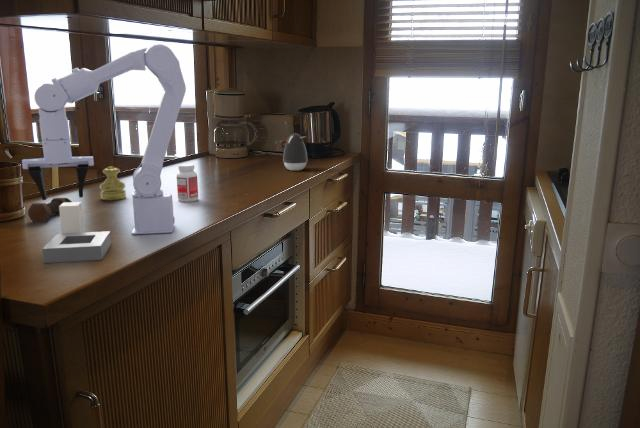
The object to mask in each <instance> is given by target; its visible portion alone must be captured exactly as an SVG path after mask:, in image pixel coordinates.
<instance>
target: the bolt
mask: <svg viewBox="0 0 640 428" xmlns="http://www.w3.org/2000/svg"><path fill="white" fill-rule="evenodd" d="M64 202H73V201H72V200H71V199H69V198H67V197H54V198H52V199H51V200H50V202H49V203H46V202H34V203H31V205H30V206H29V208H28V210H27V216H28V218H29V219H30V220H31V221H32V222H33V223H37V224H38V223H47V222H48V221H49V219H50V217H51V216H52V215H53V216H54V215H55V214H59V215H60V211H59V206H60V205H61V204H62V203H64Z"/></svg>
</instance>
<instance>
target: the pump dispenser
mask: <svg viewBox="0 0 640 428" xmlns="http://www.w3.org/2000/svg"><path fill="white" fill-rule="evenodd" d="M307 138H308V137H307V135H305V136H301V135H300V134H299V133H296V132H295V133H291V134H290V135H289V137H288V138H287V140H286V143H285V146H284V149H283V156H282V162H283V164H284V167H285V168H286V169H287V170H289V171H292V172H293V171H294V172H296V171H297V172H299V171H302V170H303V169H305V168H306V166H307V163H308V152H307V147H306V144H305V143H304V142H305V141H304V140H305V139H307Z"/></svg>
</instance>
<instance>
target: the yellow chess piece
mask: <svg viewBox="0 0 640 428" xmlns="http://www.w3.org/2000/svg"><path fill="white" fill-rule="evenodd" d="M120 172H121V170H120V168H118V167H115V166H113V165H111V166H107V167H106V168H104V169H103V170H102V173H103V174H104V175H106V178H105V180H104V181H103V182H101V183H100V184H99V189H100V190H101V191H100V199H101V200H103V201H111V202H112V201H118V200H123V199H126V198H127V195H126V192H127V190H126V189H125V188H126V184H125V182H123V181H121V180H120V179H119V178H118V177H117V176H118V173H120Z"/></svg>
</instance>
